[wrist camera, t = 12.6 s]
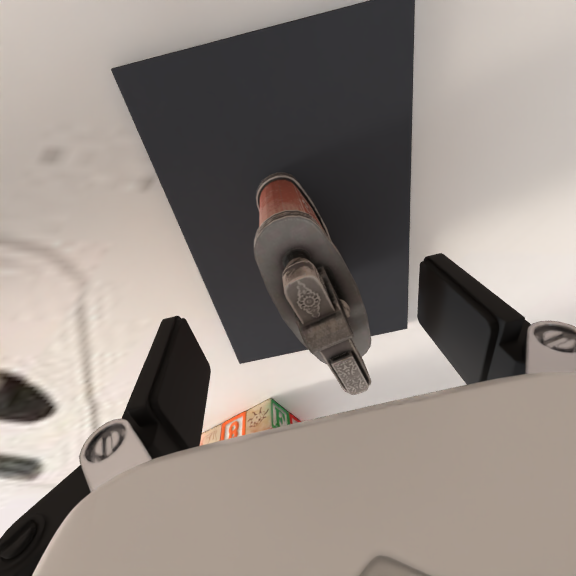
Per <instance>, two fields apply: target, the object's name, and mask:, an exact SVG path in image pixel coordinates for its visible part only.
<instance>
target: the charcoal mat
mask: <svg viewBox="0 0 576 576" xmlns="http://www.w3.org/2000/svg"><path fill="white" fill-rule="evenodd" d="M414 10H415V0H370V1H366V2H362V3H359V4H355V5H351V6H347V7H343V8H340V9H336V10H332V11H328V12H324V13H321V14H317V15H313V16H309V17H306V18H302V19H298V20H294V21H290V22H287V23H283V24H279V25H275V26H271V27H268V28H264V29H260V30H256V31H252V32H249V33H245V34H241V35H237V36H233V37H230V38H226V39H222V40H218V41H214V42H211V43H207V44H203V45H199V46H195V47H192V48H188V49H184V50H180V51H177V52H173V53H169V54H165V55H161V56H158V57H154V58H150V59H146V60H142V61H139V62H135V63H131V64H127V65H123V66H120V67H116V68H112V69H111V71H112V73H113V75H114V78H115V80H116V82H117V84H118V87H119V89H120V91H121V94H122V96H123V98H124V100H125V103H126V105H127V107H128V110H129V112H130V114H131V116H132V119H133V121H134V123H135V125H136V128H137V130H138V132H139V135H140V137H141V139H142V141H143V144H144V146H145V148H146V151H147V153H148V155H149V157H150V160H151V162H152V164H153V167H154V169H155V171H156V173H157V176H158V178H159V180H160V183H161V185H162V187H163V189H164V192H165V194H166V196H167V199H168V201H169V203H170V205H171V208H172V210H173V212H174V215H175V217H176V219H177V221H178V224H179V226H180V228H181V231H182V233H183V235H184V237H185V240H186V242H187V244H188V247H189V249H190V251H191V253H192V256H193V258H194V260H195V263H196V265H197V267H198V269H199V272H200V274H201V276H202V279H203V281H204V283H205V285H206V288H207V290H208V292H209V295H210V297H211V299H212V301H213V304H214V306H215V308H216V311H217V313H218V315H219V317H220V320H221V322H222V324H223V327H224V329H225V331H226V333H227V336H228V338H229V340H230V343H231V345H232V347H233V349H234V352H235V354H236V356H237V359H238V361H239V363H240V364H241V363H246V362H251V361H255V360H260V359H265V358H270V357H274V356H279V355H284V354H289V353H293V352H298V351H303V350H308V349H307V348H306V347H305V346H304V345H303V344H302V343H301V342H300V340H299V339H298V338H297V336H296V335H295V334H294V333H293V331H292V330H291V329H290V328H289V326H288V325H287V324H286V323H285V321H284V320H283V318H282V316H281V315H280V313H279V311H278V309H277V307H276V306H275V304H274V302H273V300H272V298H271V296H270V295H269V293H268V291H267V288H266V286H265V283H264V280H263V278H262V275H261V273H260V270H259V267H258V265H257V262H256V260H255V254H254V239H255V236H256V232H257V230H258V228H259V217H260V213H259V210H258V207H257V201H256V194H257V190H258V187H259V185H260V184H261V182H262V181H263V180H264V179H265V178H266V177H268V176H269V175H272V174H275V173H287V174H290V175H292V176H293V177H294V178H296V179H297V181H298V182H299V183H300V185H301V186H302V188H303V189H304V190H305V192H306V193H307V195H308V196H309V197H310V199H311V200H312V202H313V203H314V205H315V207H316V209H317V211H318V213H319V215H320V216H321V218H322V220H323V222H324V224H325V226H326V228H327V230H328V233H329V236H330V239H331V241H332V243H333V244H334V245H335V247H336V248H337V250H338V251H339V253H340V255H341V257H342V259H343V260H344V262H345V264H346V266H347V268H348V270H349V271H350V273H351V275H352V277H353V279H354V281H355V283H356V285H357V286H358V289H359V292H360V295H361V298H362V301H363V304H364V307H365V310H366V313H367V317H368V323H369V330H370V336H374V335H379V334H384V333H388V332H393V331H398V330H403V329H407V318H408V274H409V230H410V186H411V142H412V98H413V54H414Z"/></svg>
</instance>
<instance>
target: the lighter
mask: <svg viewBox="0 0 576 576" xmlns="http://www.w3.org/2000/svg"><path fill="white" fill-rule="evenodd" d="M256 201H257V207H258V210H259V213H260V217H259V228H258V230H257V232H256V236H255V239H254V254H255V260H256V262H257V265H258V267H259V270H260V273H261V275H262V278H263V280H264V283H265V286H266V288H267V291H268V293H269V295H270V296H271V298H272V300H273V302H274V304H275V306H276V307H277V309H278V311H279V313H280V315H281V316H282V318H283V320H284V321H285V323H286V324H287V325H288V326H289V328H290V329H291V330H292V331H293V333H294V334H295V335H296V336H297V338H298V339H299V340H300V342H301V343H302V344H303V345H304V346H305V347H306V348H307V349H309V351H310V352H311V353H312V354H314V355H315V356H316V357H317V358H318V359H319V360H320V361H322V362H323V363H325V364H328V366H329V368H330V369H331V371H332V372H333V374H334V376H335V377H336V379H337V380H338V382H339V384H340V385H341V387H342V388H343V390H344V391H345V392H347V393H350V394H351V395H356V394H359V393H362V392H364V391H366V390H367V389H368V387H369V386H370V384H371V379H370V376H369V374H368V371H367V369H366V366H365V364H364V361H363V359H362V356H363V355H364V354H365V353H367V351H368V349H369V348H370V346H371V336H370V330H369V323H368V317H367V313H366V310H365V307H364V304H363V301H362V298H361V295H360V292H359V289H358V286H357V285H356V283H355V281H354V279H353V277H352V275H351V273H350V271H349V270H348V268H347V266H346V264H345V262H344V260H343V259H342V257H341V255H340V253H339V251H338V250H337V248H336V247H335V245H334V244H333V243H332V241H331V239H330V236H329V233H328V230H327V228H326V226H325V224H324V222H323V220H322V218H321V216H320V215H319V213H318V211H317V209H316V207H315V205H314V203H313V202H312V200H311V199H310V197H309V196H308V195H307V193H306V192H305V190H304V189H303V188H302V186H301V185H300V183H299V182H298V181H297V179H296V178H294V177H293V176H292V175H290V174H287V173H275V174H272V175H269V176H268V177H266V178H265V179H264V180H263V181H262V182H261V184H260V185H259V187H258V190H257V194H256Z"/></svg>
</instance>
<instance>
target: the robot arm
mask: <svg viewBox="0 0 576 576" xmlns="http://www.w3.org/2000/svg"><path fill="white" fill-rule="evenodd" d="M417 316H418V320H419V323H420V324H421V326H422V327H423V328H424V330H425V331H426V332H427V333H428V335H429V336H430V337H431V339H432V340H433V341H434V343H435V344H436V345H437V346H438V348H439V349H440V350H441V352H442V353H443V354H444V356H445V357H446V358H447V359H448V361H449V362H450V363H451V365H452V366H453V367H454V368H455V370H456V371H457V372H458V374H459V375H460V376H461V378H462V379H463V380H464V381H465V383H466V384H467V385H464V386H459V387H454V388H449V389H445V390H440V391H436V392H431V393H427V394H422V395H418V396H413V397H409V398H404V399H400V400H395V401H391V402H386V403H382V404H377V405H373V406H369V407H364V408H360V409H355V410H351V411H346V412H342V413H338V414H333V415H329V416H324V417H320V418H316V419H311V420H307V421H303V422H298V423H294V424H290V425H285V426H281V427H277V428H272V429H268V430H264V431H260V432H255V433H251V434H247V435H242V436H238V437H234V438H230V439H225V440H221V441H217V442H213V443H209V444H205V445H201V446H200V441H201V434H202V427H203V420H204V414H205V407H206V400H207V393H208V387H209V380H210V373H211V370H210V365H209V363H208V361H207V359H206V357H205V355H204V353H203V351H202V349H201V348H200V346H199V344H198V342H197V340H196V338H195V336H194V334H193V332H192V330H191V329H190V327H189V325H188V323H187V321H186V319H184V318H182V319H181V318H180V317H179V316H175V317H170V318H166V319H163V320H162V322H161V324H160V327H159V329H158V332H157V334H156V337H155V339H154V341H153V344H152V346H151V349H150V351H149V354H148V356H147V359H146V361H145V363H144V365H143V368H142V370H141V373H140V375H139V377H138V380H137V382H136V385H135V387H134V390H133V392H132V394H131V397H130V399H129V402H128V404H127V407H126V409H125V412H124V414H123V416H122V419H115V420H112V421H110V422H107V423H105V424H104V425H102V426H101V427H99V428H98V429H97V430H96V431H95V432H93V433H92V434H91V435H90V437H89V438H88V439H87V440H86V442H85V443H84V445H83V447H82V449H81V452H80V455H79V459H80V464H81V465H80V466H79V467H78V468H77V469H75V470H74V471H73V472H72V473H71V474H70V475H68V476H67V477H66V478H65V479H64V480H63V481H62V482H60V483H59V484H58V485H57V486H56V487H55V488H54V489H52V490H51V491H50V492H49V493H48V494H47V495H46V496H44V497H43V498H42V499H41V500H40V501H39V502H37V503H36V504H35V505H34V506H33V507H32V508H31V509H29V510H28V511H27V512H26V513H25V514H24V515H23V516H21V517H20V518H19V519H18V520H17V521H16V522H15V523H14V524H13V525H12V526H11V527H10V528H9V529H8V530H7V531H6V532H5V533H4V535H3V536H2V537H1V538H0V576H576V327H575V326H572V325H570V324H566V323H562V322H557V321H539V322H536V323H533V324H532V325H531V324H530V323H529V322H527V321H526V320H525V317H523V316H522V315H521V314H520V313H518V312H517V311H516V310H514V309H513V308H512V307H511V306H509V305H508V304H507V303H505V302H504V301H503V300H502V299H500V298H499V297H498V296H496V295H495V294H494V293H493V292H491V291H490V290H489V289H487V288H486V287H485V286H484V285H482V284H481V283H480V282H478V281H477V280H476V279H475V278H473V277H472V276H471V275H469V274H468V273H467V272H466V271H464V270H463V269H462V268H460V267H459V266H458V265H457V264H455V263H454V262H453V261H451V260H450V259H449V258H448V257H446V256H445V255H444V254H442V253H440V254H436V255H431V256H427V257H425V258H424V261H422V262H421V263H420V272H419V293H418V314H417Z"/></svg>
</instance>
